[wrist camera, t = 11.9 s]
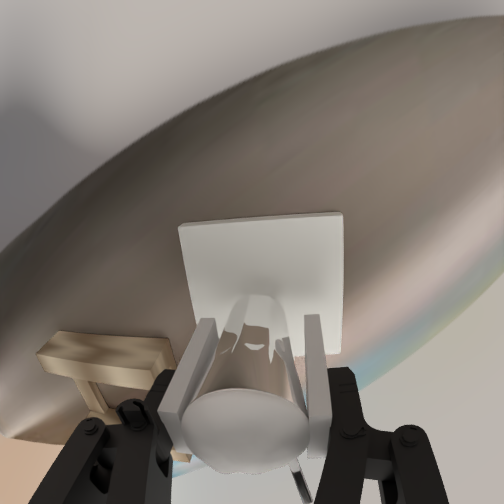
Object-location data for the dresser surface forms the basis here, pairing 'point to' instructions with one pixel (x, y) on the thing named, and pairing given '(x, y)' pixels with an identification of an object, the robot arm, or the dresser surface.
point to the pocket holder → (108, 367)
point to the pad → (269, 269)
